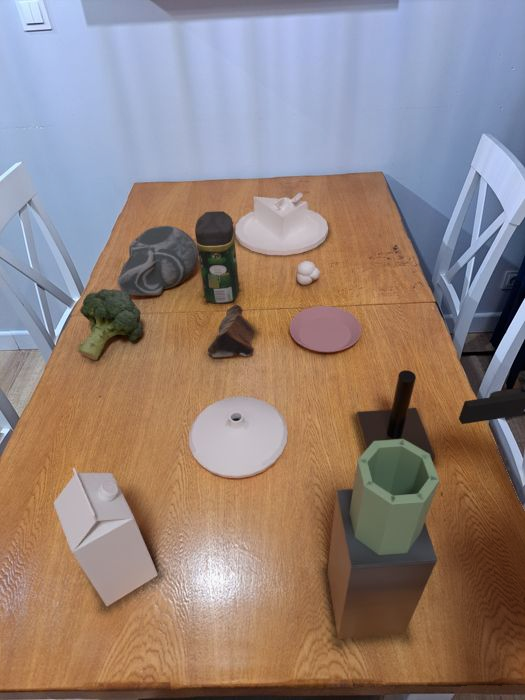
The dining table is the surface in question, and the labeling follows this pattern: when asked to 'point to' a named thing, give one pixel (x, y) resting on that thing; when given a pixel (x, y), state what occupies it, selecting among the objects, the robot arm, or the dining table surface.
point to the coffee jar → (217, 257)
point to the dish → (281, 227)
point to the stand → (374, 579)
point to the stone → (233, 336)
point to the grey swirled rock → (158, 261)
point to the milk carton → (104, 535)
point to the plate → (325, 329)
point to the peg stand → (396, 419)
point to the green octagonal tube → (392, 495)
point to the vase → (238, 437)
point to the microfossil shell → (307, 272)
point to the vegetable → (109, 319)
